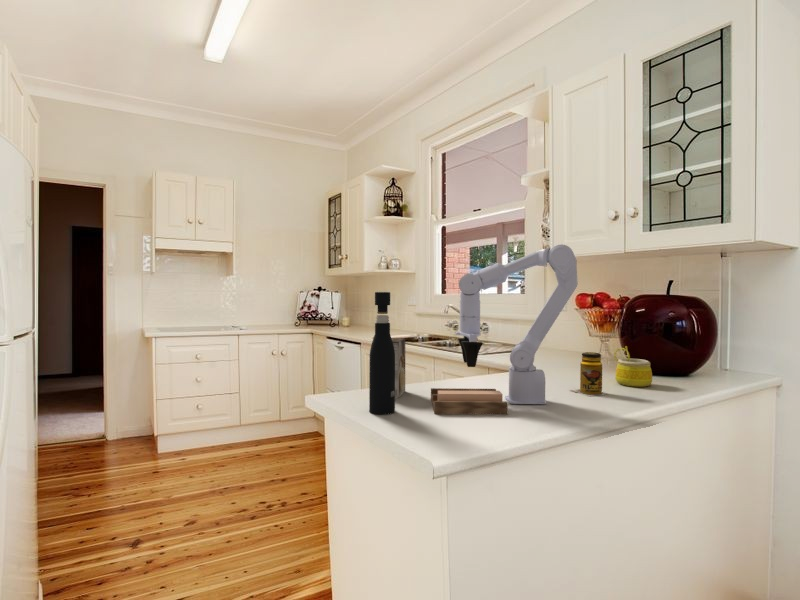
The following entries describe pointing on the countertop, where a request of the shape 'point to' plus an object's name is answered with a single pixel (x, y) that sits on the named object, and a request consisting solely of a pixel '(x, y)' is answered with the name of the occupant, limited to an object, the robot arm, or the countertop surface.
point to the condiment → (590, 375)
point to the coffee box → (399, 365)
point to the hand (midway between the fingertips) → (469, 364)
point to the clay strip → (469, 396)
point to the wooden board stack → (467, 404)
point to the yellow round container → (632, 371)
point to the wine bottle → (382, 362)
